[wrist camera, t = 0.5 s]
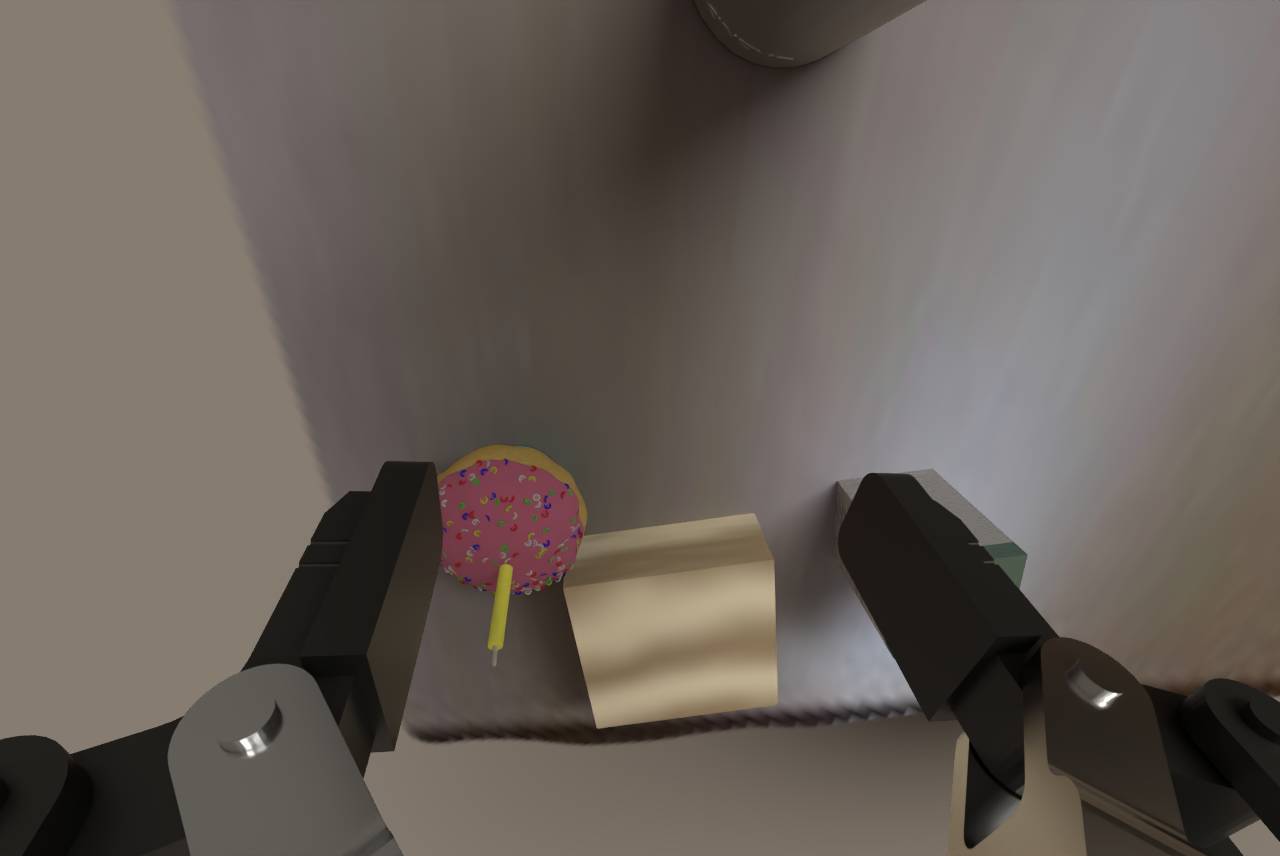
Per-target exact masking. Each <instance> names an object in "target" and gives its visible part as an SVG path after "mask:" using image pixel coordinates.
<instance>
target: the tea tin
mask: <svg viewBox="0 0 1280 856" xmlns="http://www.w3.org/2000/svg"><path fill="white" fill-rule="evenodd" d="M897 474H909V475H912V476H913V477H914V478H915V479H916V480H917V481H918V482H919V483H920V485H921V486H922V487H923V488H924V489H925V491H926V492H927V493H928V494H929V496H930V497H931V498H932V499H933V500H935V501H937V502H938V503H939V504H941V505H942V506H943V507H945V508H946V509H947V510H949V511H950V512H951V513H953V514H954V515H955V516H957V517H958V518H959V519H961V520H962V522H963V523H964V524H965V525H966V526H967V528H968V529H969V530H970V531H971V532H972V534H973V535H974V536H975V537H976V538H977V540H978V541H979V546H983V547H984V548H985V549H986V550H987V552H988V553H989V554H990V555H991V556H992V557H993V559H994V564H998V565H999V566H1000V567H1001V568H1002V569H1003V571H1004V572H1005V573H1006V574H1007V575H1008V577H1009V578H1010V579H1011V580H1012V581H1013V583H1014V584H1015V585H1016V586H1017V587H1018V588H1020V584H1021V580H1022V576H1023V571H1024V567H1025V563H1026V559H1027V554H1026V553H1025V552H1024V551H1023V550H1022V549H1021V548H1020V547H1018V546H1017V545H1016V544H1015V543H1014V542H1013V541H1012V540H1011V539H1010V538H1009V537H1007V536H1006V535H1005V534H1004V533H1003V532H1002V531H1001V530H1000V529H999V528H997V527H996V526H995V525H994V524H993V523H992V522H991V521H990V520H989V519H988V518H986V517H985V516H984V515H983V514H982V513H981V512H980V511H979V510H978V509H977V508H975V507H974V506H973V505H972V504H971V503H970V502H969V501H968V500H967V499H965V498H964V497H963V496H962V495H961V494H960V493H959V492H958V491H957V490H956V489H954V488H953V487H952V486H951V485H950V484H949V483H948V482H947V481H946V480H944V479H943V478H942V477H941V476H940V475H939V474H938V473H937V472H936V471H935V470H933V469H926V470H918V471H911V472H903V473H897ZM862 479H863V478H856V479H848V480H840V481H837V501H836V523H835V546H834V558H835V560H836V561H837V563H838V565H839V566H840V568H841V570H842V571H843V573H844V575H845V577H846V578H847V580H848V582H849V583H850V585H851V587H852V588H853V590H854V592H855V594H856V595H857V597H858V599H859V600H860V602H861V604H862V605H863V607H864V609H865V611H866V612H867V614H868V616H869V617H870V619H871V621H872V622H873V624H874V626H875V628H876V629H877V631H878V633H879V634H880V636H881V638H882V639H883V641H884V643H885V645H886V646H887V648H888V650H889V651H890V649H889V647H888V645H887V643H886V642H885V640H884V638H883V636H882V634H881V632H880V630H879V629H878V627H877V625H876V623H875V621H874V619H873V617H872V616H871V614H870V612H869V610H868V608H867V606H866V604H865V603H864V601H863V599H862V597H861V595H860V593H859V591H858V590H857V588H856V586H855V584H854V582H853V580H852V578H851V577H850V575H849V573H848V571H847V569H846V567H845V566H844V564H843V562H842V560H841V557H840V554H839V550H838V533H839V529H840V527H841V524H842V522H843V520H844V518H845V516H846V514H847V511H848V509H849V507H850V505H851V503H852V500H853V498H854V496H855V494H856V492H857V490H858V487H859V485H860V483H861V481H862ZM890 653H891V651H890ZM891 655H892V656H893V654H892V653H891ZM893 658H894V656H893ZM894 659H895V658H894Z"/></svg>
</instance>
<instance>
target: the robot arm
mask: <svg viewBox="0 0 1280 856" xmlns="http://www.w3.org/2000/svg"><path fill="white" fill-rule="evenodd" d="M925 1H926V0H694V2H695V4H696V7H697V9H698V11H699V13H700V15H701V18H702V19H703V20H704V22H705V23H706V25H707V26H708V27H709V29H710V30H711V31H712V33H713V34H714V36H715V37H716V38H717V39H718V40H719V41H720V42H721V43H723V44H724V45H725V46H726V47H727V48H728V49H729V50H731V51H732V52H733V53H734V54H736V55H738V56H740V57H742V58H744V59H746V60H748V61H750V62H752V63H755V64H759V65H763V66H768V67H772V68H782V67H797V66H800V65H804V64H807V63H811V62H814V61H817V60H819V59H821V58H823V57H824V56H826V55H828V54H830V53H832V52H834V51H835V50H837V49H839V48H841V47H843V46H845V45H847V44H848V43H850V42H852V41H854V40H856V39H858V38H860V37H862V36H864V35H866V34H868V33H869V32H871V31H873V30H875V29H876V28H878V27H880V26H882V25H884V24H885V23H887V22H889V21H891V20H893V19H894V18H896V17H898V16H900V15H901V14H903V13H905V12H907V11H909V10H910V9H912V8H914V7H916V6H918V5H919V4H921V3H923V2H925ZM442 546H443V523H442V515H441V507H440V499H439V490H438V482H437V474H436V468H435V465H434V463H433V462H405V461H386V462H385V463H384V464H383V466H382V468H381V470H380V473H379V475H378V477H377V479H376V482H375V484H374V486H373V489H372V491H371V492H368V491H349V492H348V493H347V494H346V495H345V496H344V497H343V498H341V499H340V500H339V501H338V502H337V503H336V504H335V505H333V506H332V507H331V508H330V509H329V510H328V511H327V512H325V513H324V515H323V517H322V519H321V521H320V523H319V525H318V527H317V529H316V531H315V533H314V534H313V537H312V538H311V544H310V545H308V546H307V548H306V550H305V552H304V554H303V556H302V558H301V560H300V562H299V568H296V569H295V571H294V573H293V575H292V577H291V579H290V581H289V583H288V585H287V587H286V589H285V590H284V593H283V594H282V597H281V598H280V600H279V602H278V604H277V606H276V608H275V610H274V612H273V614H272V616H271V618H270V620H269V621H268V624H267V625H266V627H265V629H264V631H263V633H262V635H261V637H260V639H259V641H258V643H257V645H256V646H255V648H254V651H253V652H252V654H251V656H250V658H249V660H248V661H247V663H246V664H245V666H244V667H243V669H242V670H241V671H240V673H237V674H235V675H233V676H231V677H229V678H227V679H226V680H224V681H222V682H220V683H219V684H217V685H216V686H215V687H213V688H212V689H210V690H209V691H208V692H207V693H205V694H204V695H203V696H202V697H201V698H200V699H198V700H197V701H196V702H195V703H194V705H193V706H192V707H191V708H190V709H189V710H188V711H187V712H186V714H185V715H184V716H183V717H180V718H179V719H176V720H174V721H172V722H169V723H166V724H164V725H161V726H158V727H155V728H152V729H149V730H146V731H143V732H140V733H136V734H133V735H130V736H127V737H124V738H121V739H117V740H114V741H111V742H108V743H105V744H101V745H98V746H95V747H92V748H89V749H86V750H83V751H79V752H76V753H73V754H69V753H68V752H67V751H66V750H65V749H64V748H63V747H62V746H61V745H60V744H58V743H57V742H56V741H54V740H52V739H49V738H47V737H42V736H35V735H33V736H32V735H30V736H17V737H10V738H5V739H2V740H0V856H403V854H402V852H401V850H400V848H399V846H398V844H397V842H396V840H395V838H394V837H393V835H392V833H391V832H390V831H389V830H388V828H387V826H386V824H385V822H384V821H383V819H382V817H381V815H380V813H379V811H378V809H377V806H376V804H375V802H374V800H373V798H372V796H371V794H370V792H369V790H368V788H367V786H366V784H365V782H364V780H363V778H364V774H365V771H366V767H367V764H368V760H369V756H370V753H371V752H387V751H394V749H395V745H396V741H397V737H398V733H399V729H400V725H401V721H402V717H403V713H404V709H405V704H406V700H407V696H408V692H409V688H410V684H411V680H412V676H413V672H414V667H415V663H416V659H417V655H418V651H419V647H420V643H421V639H422V635H423V631H424V626H425V622H426V618H427V614H428V610H429V606H430V602H431V598H432V594H433V589H434V585H435V581H436V577H437V573H438V569H439V565H440V560H441V555H442ZM838 550H839V554H840V557H841V560H842V562H843V564H844V566H845V567H846V569H847V571H848V573H849V575H850V577H851V578H852V580H853V582H854V584H855V586H856V588H857V590H858V591H859V593H860V595H861V597H862V599H863V601H864V603H865V604H866V606H867V608H868V610H869V612H870V614H871V616H872V617H873V619H874V621H875V623H876V625H877V627H878V629H879V630H880V632H881V634H882V636H883V638H884V640H885V642H886V643H887V645H888V647H889V649H890V651H891V653H892V654H893V656H894V658H895V660H896V662H897V664H898V666H899V667H900V669H901V671H902V673H903V675H904V677H905V679H906V680H907V682H908V684H909V686H910V688H911V690H912V692H913V693H914V695H915V697H916V699H917V701H918V703H919V705H920V706H921V708H922V710H923V712H924V714H925V716H926V718H927V719H928V721H929V722H930V721H948V720H958V721H959V723H960V725H961V726H962V728H963V730H964V732H963V733H962V734H961V735H960V736H959V738H958V740H957V744H956V753H955V765H954V778H953V790H952V803H951V814H950V827H949V839H948V850H947V855H946V856H1243V855H1242V853H1241V852H1240V851H1239V850H1238V848H1237V847H1236V846H1235V845H1234V843H1233V842H1232V841H1231V839H1230V838H1229V837H1228V836H1230V835H1232V834H1234V833H1236V832H1237V831H1239V830H1241V829H1243V828H1245V827H1247V826H1248V825H1251V824H1252V823H1254V822H1256V821H1258V820H1260V819H1261V820H1262V822H1263V823H1264V824H1265V825H1266V826H1267V827H1268V829H1269V830H1270V831H1271V832H1272V833H1273V834H1274V836H1275V837H1276V838H1277V839H1278V840H1279V841H1280V702H1279V701H1277V700H1275V699H1274V698H1272V697H1270V696H1269V695H1267V694H1265V693H1263V692H1261V691H1259V690H1258V689H1255V688H1253V687H1251V686H1249V685H1246V684H1243V683H1240V682H1238V681H1234V680H1230V679H1222V678H1218V679H1212V680H1210V681H1208V682H1207V683H1205V684H1204V685H1203V686H1202V687H1200V688H1199V689H1198V690H1196V691H1195V692H1194V693H1193V694H1191V695H1190V696H1189V697H1188V696H1184V695H1181V694H1177V693H1173V692H1169V691H1165V690H1162V689H1158V688H1154V687H1150V686H1147V685H1143V684H1141V683H1140V682H1139V681H1138V680H1137V679H1136V678H1135V676H1134V675H1133V674H1131V673H1130V672H1129V671H1128V670H1127V669H1126V668H1125V667H1124V666H1123V665H1121V664H1120V663H1119V662H1118V661H1116V660H1115V659H1114V658H1112V657H1111V656H1109V655H1108V654H1106V653H1105V652H1103V651H1101V650H1100V649H1098V648H1096V647H1094V646H1092V645H1090V644H1087V643H1085V642H1082V641H1079V640H1076V639H1072V638H1066V637H1059V636H1058V635H1057V634H1056V633H1055V631H1054V630H1053V629H1052V628H1051V627H1050V625H1049V624H1048V623H1047V622H1046V621H1045V619H1044V618H1043V617H1042V616H1041V615H1040V614H1039V612H1038V611H1037V610H1036V609H1035V608H1034V606H1033V605H1032V604H1031V603H1030V602H1029V600H1028V599H1027V598H1026V597H1025V596H1024V594H1023V593H1022V592H1021V591H1020V590H1019V588H1018V587H1017V586H1016V585H1015V584H1014V583H1013V581H1012V580H1011V579H1010V578H1009V577H1008V575H1007V574H1006V573H1005V572H1004V571H1003V569H1002V568H1001V567H1000V566H999V565H998V564H994V559H993V557H992V556H991V555H990V554H989V553H988V552H987V550H986V549H985V548H984V547H983V546H979V541H978V540H977V538H976V537H975V536H974V535H973V534H972V532H971V531H970V530H969V529H968V528H967V526H966V525H965V524H964V523H963V522H962V520H961V519H959V518H958V517H957V516H955V515H954V514H953V513H951V512H950V511H949V510H947V509H946V508H945V507H943V506H942V505H941V504H939V503H938V502H937V501H935V500H933V499H932V498H931V497H930V496H929V494H928V493H927V492H926V491H925V489H924V488H923V487H922V486H921V485H920V483H919V482H918V481H917V480H916V479H915V478H914V477H913V476H912V475H909V474H897V473H869V474H867V475H866V476H865V477H864V478H863V479H862V481H861V483H860V485H859V487H858V490H857V492H856V494H855V496H854V498H853V500H852V503H851V505H850V507H849V509H848V511H847V514H846V516H845V518H844V520H843V522H842V524H841V527H840V529H839V533H838Z"/></svg>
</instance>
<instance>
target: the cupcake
mask: <svg viewBox="0 0 1280 856" xmlns="http://www.w3.org/2000/svg"><path fill="white" fill-rule="evenodd" d="M437 482H438V490H439V499H440V507H441V515H442V523H443V546H442V555H441V560H440V564H441V566H443V567H444V571H445V572H446V573H449V574H450V575H451V576H452V575H453V576H454V577H456V578H458V581H459V582H461V583H463V584H465V585H466V583H469V584H471V585H473V587H474V588H476V589H478V590H479V591H482V590H483V591H492V593H493V594H495V600H494V607H493V613H492V620H491V626H490V633H489V639H488V648H489V649H490V650H493V654H492V666H493V667H496V665H497V650H500V649H502V647H503V642H504V634H505V626H506V618H507V611H508V603H509V595H510V594H511V595H514V593H515V594H517V595H519V594H521V593H522V592H525V594H526V595H530V594H531V592H532V591H533V590H536V591H540V589H544V588H545V587H546V586H545V585H547V586H549V585H551V583H552V581H553V580H555V581H556V582H559V581H560V580H561V576H565V575H566V571H567V570H568V569H569V570H571V569H572V568H573V564H574V563H575V560H576V555H577V552H578V549H579V547H580V544H581V542H582V539H583V536H584V532H585V528H586V523H587V510H586V506H585V503H584V501H583V498H582V496H581V494H580V492H579V490H578V489H577V487H576V484H575V482H574V479H573V477H572V476H571V474H570V473H569V472H568V471H566V470H565V469H564V468H562V467H561V466H559V465H558V464H557V463H555V462H554V461H553V460H551V459H550V458H549V457H548V456H546V455H545V454H544V453H542V452H540V451H538V450H536V449H533V448H529V447H524V446H508V445H502V444H495V445H490V446H486V447H482V448H479V449H477V450H475V451H473V452H471V453H469V454H467V455H465V456H463V457H462V458H460V459H459V460H457V461H456V462H455V463H454V464H453V465H451V466H450V467H449V468H448V469H447V470H445V471H444V472H442V473H440V474H439V475H438V476H437ZM571 566H572V567H571ZM446 570H447V571H446ZM563 573H564V575H563ZM558 578H559V580H558ZM557 580H558V581H557ZM549 583H550V584H549ZM543 586H544V587H543ZM536 588H537V589H536ZM529 591H530V593H527V592H529ZM494 592H496V593H494Z"/></svg>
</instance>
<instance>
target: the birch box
mask: <svg viewBox="0 0 1280 856" xmlns="http://www.w3.org/2000/svg"><path fill="white" fill-rule="evenodd" d="M571 567H572V566H571ZM563 590H564V595H565V599H566V603H567V607H568V611H569V615H570V619H571V623H572V628H573V632H574V636H575V640H576V644H577V648H578V652H579V656H580V661H581V665H582V669H583V673H584V677H585V681H586V685H587V689H588V693H589V698H590V702H591V706H592V710H593V714H594V718H595V722H596V726H597V728H605V727H613V726H620V725H628V724H635V723H643V722H650V721H658V720H666V719H673V718H681V717H688V716H696V715H703V714H711V713H719V712H726V711H734V710H741V709H749V708H756V707H764V706H772V705H778V689H777V650H776V612H775V574H774V558H773V556H772V554H771V551H770V549H769V547H768V544H767V542H766V540H765V537H764V535H763V533H762V530H761V528H760V526H759V523H758V521H757V519H756V516H755V514H754V513H751V514H743V515H736V516H728V517H721V518H713V519H706V520H699V521H691V522H684V523H676V524H669V525H661V526H654V527H647V528H639V529H632V530H624V531H617V532H609V533H602V534H595V535H587V536H583V539H582V542H581V544H580V547H579V549H578V552H577V555H576V560H575V563H574V564H573V568H572V569H571V570H569V569H568V570H567V571H566V575H565V576H564V583H563Z"/></svg>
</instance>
